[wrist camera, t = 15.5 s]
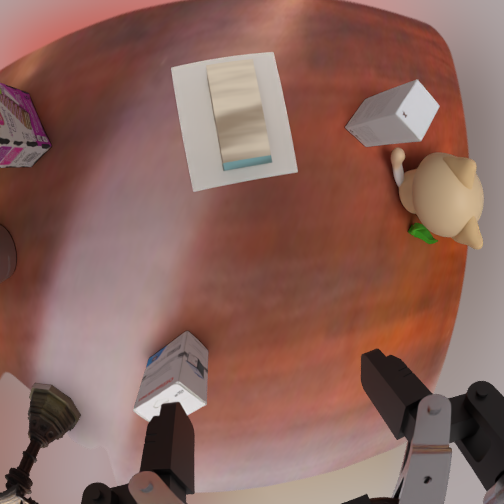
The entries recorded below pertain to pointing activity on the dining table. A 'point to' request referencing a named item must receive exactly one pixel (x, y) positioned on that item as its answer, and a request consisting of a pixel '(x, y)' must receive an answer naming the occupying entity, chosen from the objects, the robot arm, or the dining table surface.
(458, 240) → the kitten
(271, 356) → the dining table surface
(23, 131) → the candy bar box
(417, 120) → the skincare box
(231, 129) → the birch block
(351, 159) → the dining table surface
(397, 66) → the dining table surface
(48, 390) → the book lectern
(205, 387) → the ink box
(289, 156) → the mat
